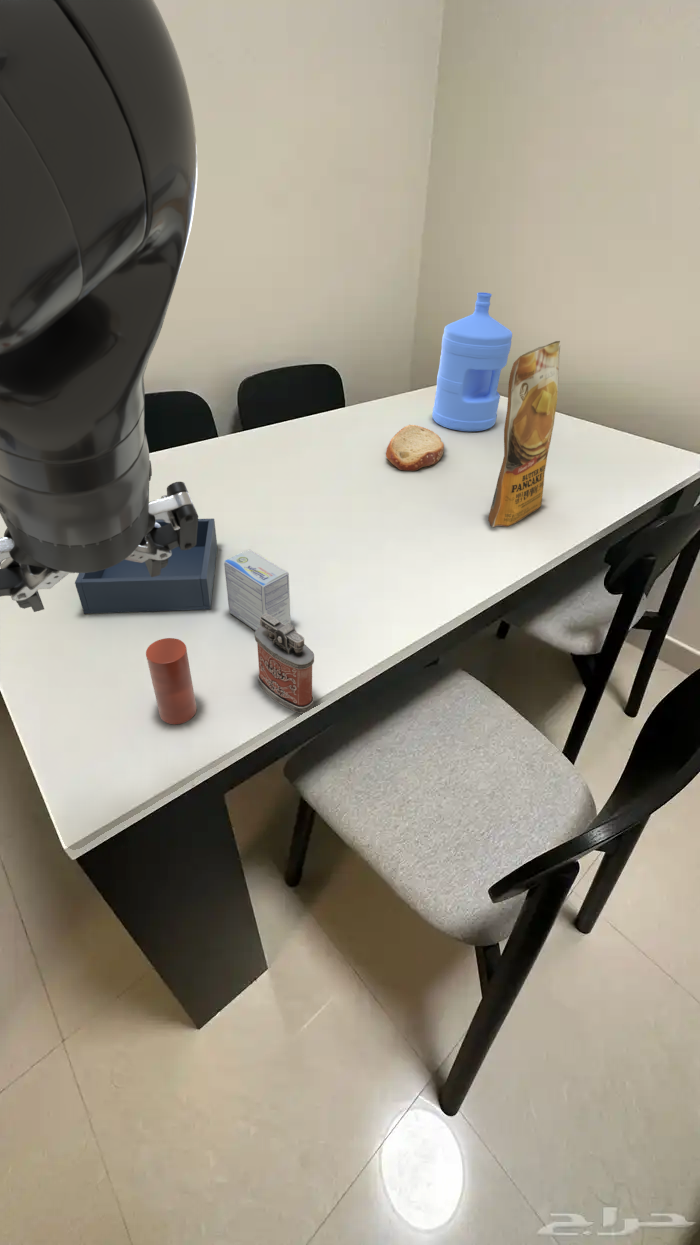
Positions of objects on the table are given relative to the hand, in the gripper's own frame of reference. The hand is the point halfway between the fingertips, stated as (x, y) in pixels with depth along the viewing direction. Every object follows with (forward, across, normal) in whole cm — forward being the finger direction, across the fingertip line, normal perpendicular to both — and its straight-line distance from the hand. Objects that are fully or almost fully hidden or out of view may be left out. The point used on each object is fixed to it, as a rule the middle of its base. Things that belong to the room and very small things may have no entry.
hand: (95, 581), depth 44 cm
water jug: (+63, -96, -36) cm, 120 cm away
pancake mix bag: (+36, -73, -4) cm, 82 cm away
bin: (+39, -10, -12) cm, 42 cm away
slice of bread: (+56, -73, -28) cm, 96 cm away
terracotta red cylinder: (+22, -4, +9) cm, 24 cm away
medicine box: (+30, -19, +1) cm, 35 cm away
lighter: (+21, -16, +12) cm, 29 cm away
